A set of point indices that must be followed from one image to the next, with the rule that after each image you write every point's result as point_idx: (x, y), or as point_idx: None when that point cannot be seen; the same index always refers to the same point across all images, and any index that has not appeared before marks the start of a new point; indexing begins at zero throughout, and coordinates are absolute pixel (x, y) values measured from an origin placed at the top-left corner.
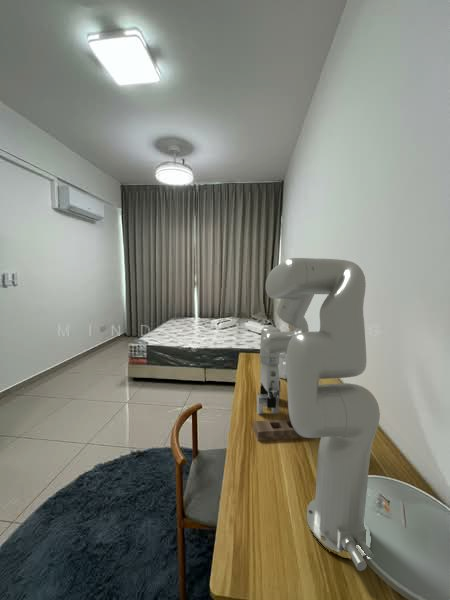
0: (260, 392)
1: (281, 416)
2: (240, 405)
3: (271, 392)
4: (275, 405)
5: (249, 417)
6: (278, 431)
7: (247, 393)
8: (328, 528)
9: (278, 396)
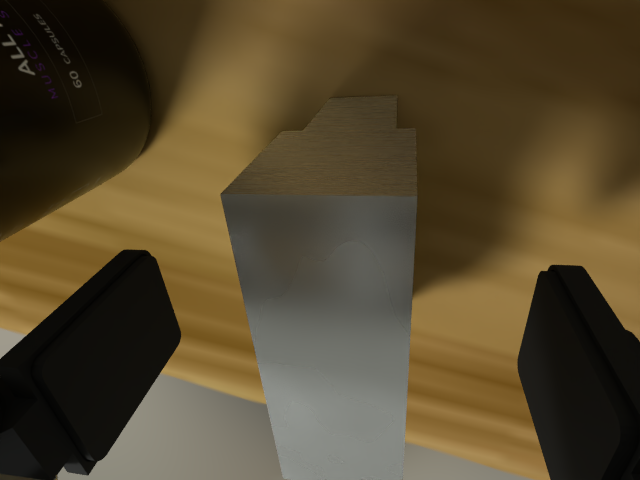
0: (156, 367)
1: (470, 61)
2: (244, 383)
3: (47, 166)
4: (596, 291)
5: (430, 377)
6: None
7: (29, 289)
8: None
9: (373, 199)
